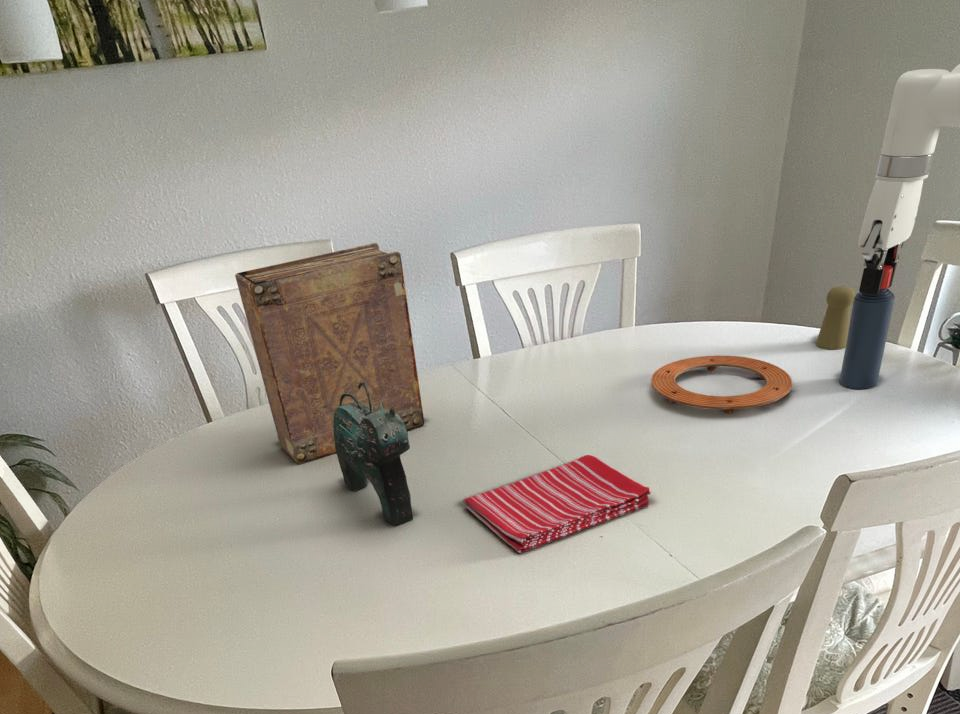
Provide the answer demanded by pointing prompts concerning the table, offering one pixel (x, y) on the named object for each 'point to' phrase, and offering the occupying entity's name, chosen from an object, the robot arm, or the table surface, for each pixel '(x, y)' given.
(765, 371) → the ring
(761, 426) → the table surface
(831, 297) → the olive pawn figure
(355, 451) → the dark green carved figure
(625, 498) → the dish towel
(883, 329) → the bottle
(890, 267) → the cap
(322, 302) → the book
